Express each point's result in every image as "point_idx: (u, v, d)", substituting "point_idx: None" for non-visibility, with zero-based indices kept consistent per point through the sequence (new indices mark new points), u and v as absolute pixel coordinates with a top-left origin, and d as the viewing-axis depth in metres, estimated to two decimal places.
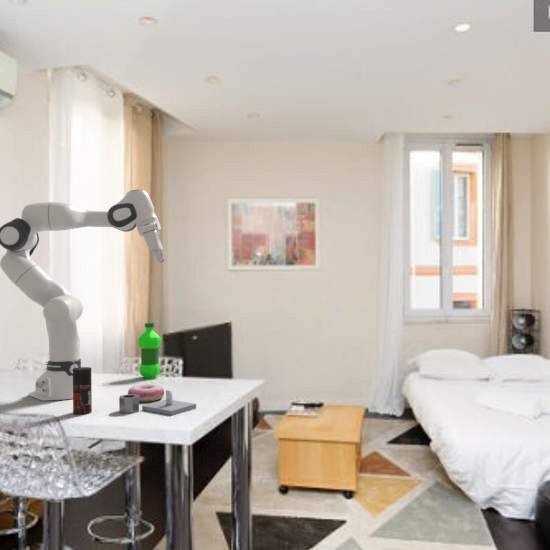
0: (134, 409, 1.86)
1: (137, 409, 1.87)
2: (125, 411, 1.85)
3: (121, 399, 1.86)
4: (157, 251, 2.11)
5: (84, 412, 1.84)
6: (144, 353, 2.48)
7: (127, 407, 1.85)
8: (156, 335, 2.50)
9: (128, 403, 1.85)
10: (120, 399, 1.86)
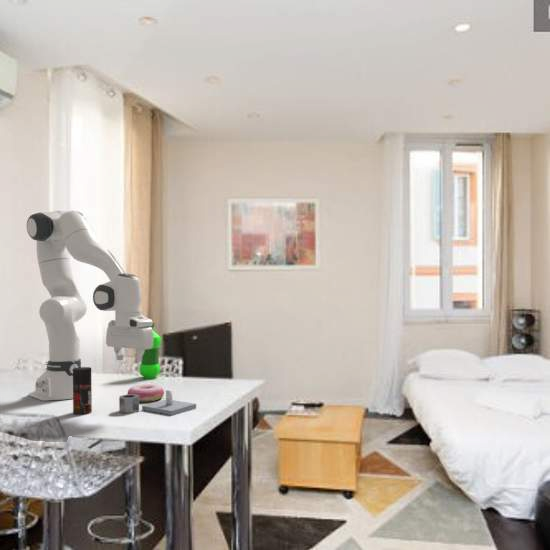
0: (134, 409, 1.86)
1: (137, 409, 1.87)
2: (125, 411, 1.85)
3: (121, 399, 1.86)
4: (142, 350, 1.85)
5: (84, 412, 1.84)
6: (144, 353, 2.48)
7: (127, 407, 1.85)
8: (156, 335, 2.50)
9: (128, 403, 1.85)
10: (120, 399, 1.86)
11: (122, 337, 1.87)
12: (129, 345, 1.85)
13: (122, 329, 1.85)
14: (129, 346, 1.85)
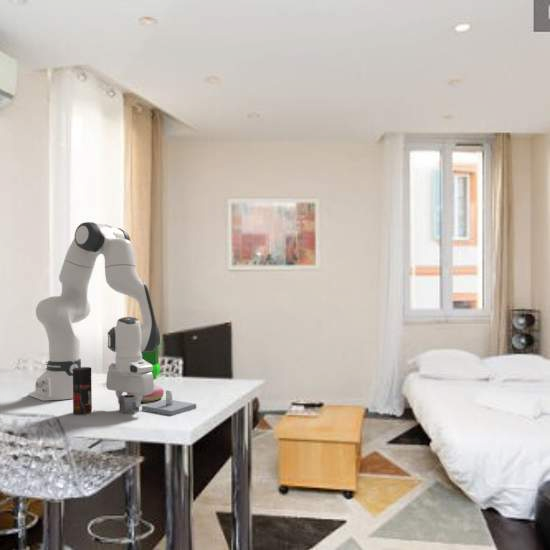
0: (134, 409, 1.86)
1: (137, 409, 1.87)
2: (125, 411, 1.85)
3: (121, 399, 1.86)
4: (141, 395, 1.85)
5: (84, 412, 1.84)
6: (144, 353, 2.48)
7: (127, 407, 1.85)
8: None
9: (128, 403, 1.85)
10: (120, 399, 1.86)
11: (122, 381, 1.87)
12: (129, 390, 1.85)
13: (122, 374, 1.85)
14: (129, 391, 1.85)
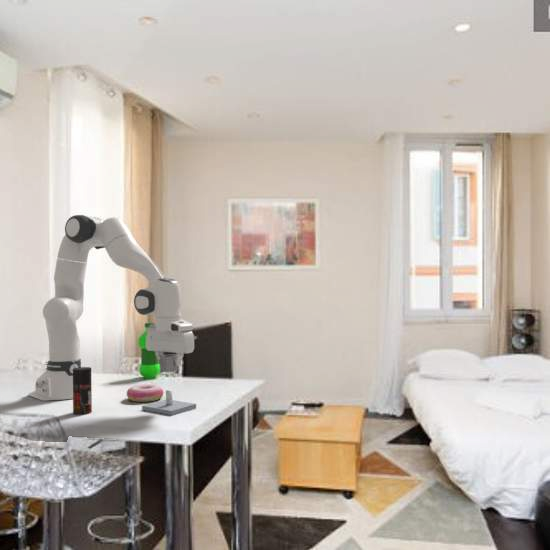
0: (175, 368, 1.88)
1: (177, 368, 1.89)
2: (166, 370, 1.87)
3: (162, 358, 1.88)
4: (182, 354, 1.87)
5: (84, 412, 1.84)
6: (144, 353, 2.48)
7: (168, 366, 1.87)
8: None
9: (168, 361, 1.87)
10: (161, 358, 1.88)
11: (163, 341, 1.89)
12: (170, 349, 1.87)
13: (163, 333, 1.87)
14: (170, 350, 1.87)
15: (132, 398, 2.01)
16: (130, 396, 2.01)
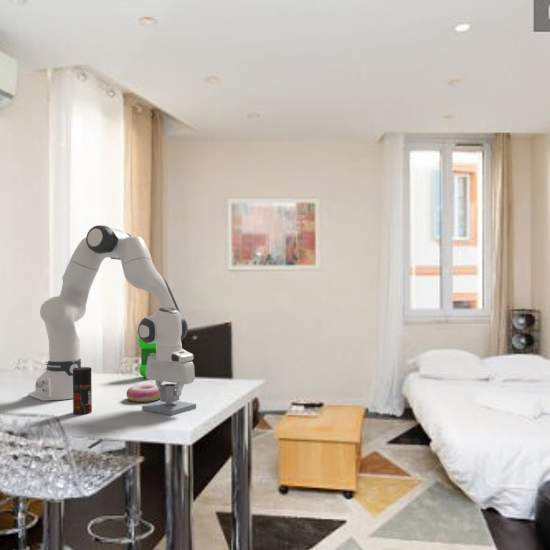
0: (175, 398, 1.88)
1: (178, 398, 1.89)
2: (166, 400, 1.87)
3: (162, 388, 1.88)
4: (182, 384, 1.87)
5: (84, 412, 1.84)
6: (144, 353, 2.48)
7: (168, 396, 1.87)
8: None
9: (169, 391, 1.87)
10: (161, 388, 1.88)
11: (163, 371, 1.89)
12: (170, 379, 1.87)
13: (163, 363, 1.87)
14: (170, 380, 1.87)
15: (132, 398, 2.01)
16: (130, 396, 2.01)
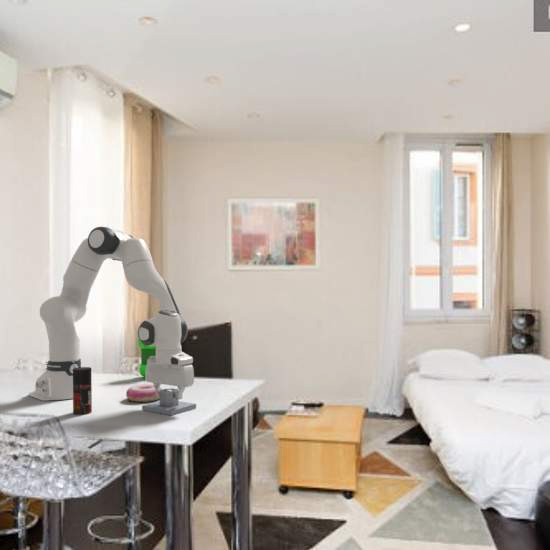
0: (174, 403, 1.88)
1: (177, 403, 1.89)
2: (165, 405, 1.87)
3: (161, 393, 1.88)
4: (183, 387, 1.87)
5: (84, 412, 1.84)
6: (144, 353, 2.48)
7: (167, 401, 1.87)
8: None
9: (168, 397, 1.87)
10: (160, 393, 1.88)
11: (162, 374, 1.89)
12: (170, 382, 1.87)
13: (163, 366, 1.87)
14: (170, 383, 1.87)
15: (132, 398, 2.00)
16: (130, 396, 2.01)
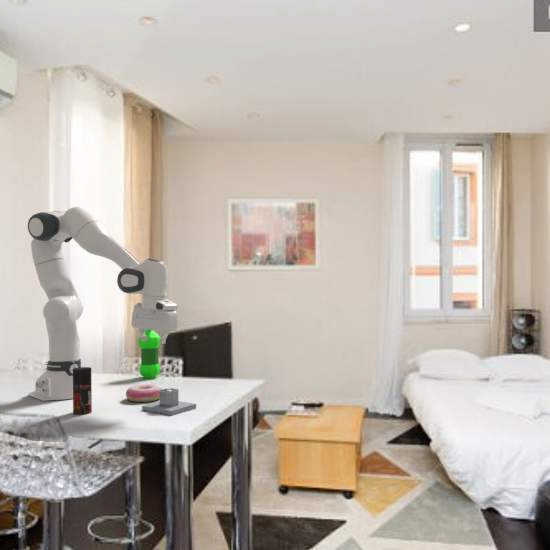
0: (174, 403, 1.88)
1: (177, 403, 1.89)
2: (165, 405, 1.87)
3: (161, 393, 1.88)
4: (167, 333, 1.94)
5: (84, 412, 1.84)
6: (144, 353, 2.48)
7: (167, 401, 1.87)
8: (156, 335, 2.50)
9: (168, 397, 1.87)
10: (160, 393, 1.88)
11: (147, 319, 1.96)
12: (154, 327, 1.94)
13: (148, 311, 1.94)
14: (154, 328, 1.94)
15: (131, 398, 2.00)
16: (129, 396, 2.01)
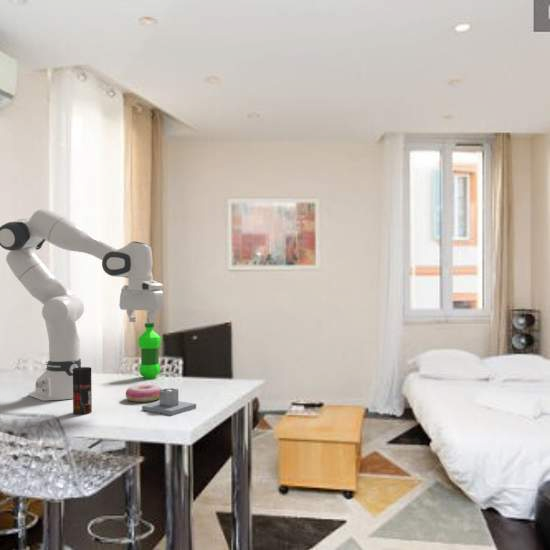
0: (174, 403, 1.88)
1: (177, 403, 1.89)
2: (165, 405, 1.87)
3: (161, 393, 1.88)
4: (154, 312, 2.00)
5: (84, 412, 1.84)
6: (144, 353, 2.48)
7: (167, 401, 1.87)
8: (156, 335, 2.50)
9: (168, 397, 1.87)
10: (160, 393, 1.88)
11: (135, 300, 2.03)
12: (141, 307, 2.01)
13: (135, 292, 2.01)
14: (141, 308, 2.01)
15: (131, 398, 2.00)
16: (129, 396, 2.01)
